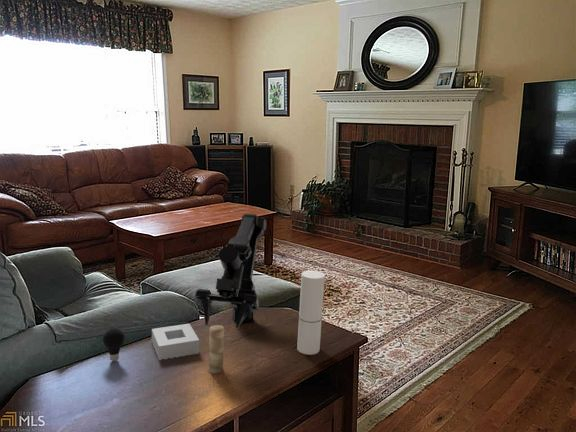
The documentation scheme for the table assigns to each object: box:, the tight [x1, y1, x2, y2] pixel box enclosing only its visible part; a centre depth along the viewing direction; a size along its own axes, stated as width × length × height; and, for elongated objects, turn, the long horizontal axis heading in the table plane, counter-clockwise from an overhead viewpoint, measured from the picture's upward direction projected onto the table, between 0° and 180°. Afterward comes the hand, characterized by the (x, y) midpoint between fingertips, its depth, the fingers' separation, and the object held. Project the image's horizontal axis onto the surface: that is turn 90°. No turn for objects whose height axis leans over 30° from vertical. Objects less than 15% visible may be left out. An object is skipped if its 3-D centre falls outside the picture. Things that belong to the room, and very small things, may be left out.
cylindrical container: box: [296, 270, 326, 356], centre depth 149 cm, size 7×7×25 cm
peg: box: [208, 324, 225, 375], centre depth 135 cm, size 4×4×13 cm
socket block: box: [151, 323, 200, 361], centre depth 147 cm, size 12×12×4 cm
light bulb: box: [102, 327, 125, 362], centre depth 137 cm, size 6×6×10 cm
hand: (221, 326), depth 139 cm, fingers open, 9 cm apart
